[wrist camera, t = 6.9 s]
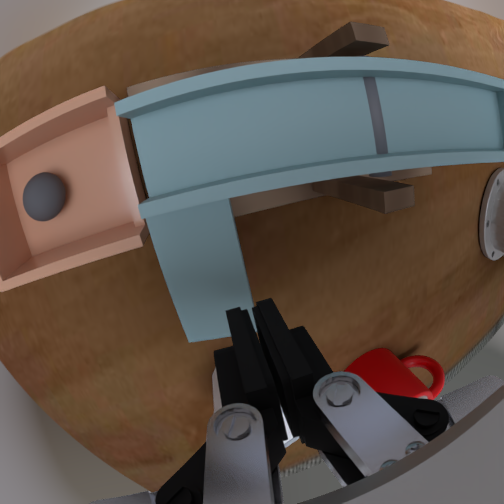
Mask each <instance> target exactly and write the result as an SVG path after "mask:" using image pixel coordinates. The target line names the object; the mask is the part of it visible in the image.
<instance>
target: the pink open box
mask: <svg viewBox="0 0 504 504" xmlns="http://www.w3.org/2000/svg"><path fill="white" fill-rule="evenodd" d="M117 101H120V99H119V98H118V97H117V96H116V95H115V94H114V93H112V92H111V91H110V90H109V89H108V88H107V87H106V86H102V87H99V88H97V89H94V90H92V91H89V92H87V93H84V94H82V95H79V96H77V97H75V98H72V99H70V100H68V101H66V102H63V103H61V104H59V105H57V106H55V107H53V108H51V109H49V110H47V111H45V112H43V113H41V114H39V115H37V116H35V117H34V118H32V119H30V120H28V121H26V122H25V123H23V124H21V125H19V126H18V127H16V128H14V129H13V130H11V131H9V132H8V133H6V134H5V135H3V136H1V137H0V291H1V292H3V291H6V290H9V289H12V288H15V287H17V286H20V285H23V284H26V283H29V282H32V281H35V280H38V279H41V278H44V277H47V276H50V275H53V274H56V273H59V272H62V271H65V270H68V269H71V268H74V267H77V266H80V265H83V264H86V263H90V262H93V261H96V260H99V259H102V258H106V257H109V256H112V255H115V254H119V253H122V252H125V251H129V250H132V249H135V248H139V247H142V246H143V245H144V243H145V241H146V238H147V236H148V234H149V229H148V225H147V222H146V219H145V218H144V219H141V216H140V212H139V209H138V204H140V203H142V202H143V201H145V200H146V196H145V192H144V188H143V185H142V181H141V177H140V173H139V169H138V165H137V160H136V156H135V152H134V147H133V143H132V138H131V133H130V129H129V124H128V119H127V118H124V117H119V116H116V111H115V105H114V103H115V102H117ZM42 172H49V173H53V174H55V175H56V176H58V177H59V178H60V179H61V181H62V182H63V184H64V187H65V191H66V199H65V203H64V206H63V208H62V210H61V211H60V213H59V214H58V215H57V216H56V217H55V218H53V219H51V220H49V221H37V220H34V219H32V218H31V217H30V216H29V215H28V214H27V212H26V211H25V209H24V206H23V191H24V188H25V186H26V184H27V183H28V181H29V180H30V179H31V178H32V177H33V176H35V175H37V174H39V173H42Z"/></svg>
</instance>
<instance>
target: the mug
mask: <svg viewBox="0 0 504 504" xmlns="http://www.w3.org/2000/svg"><path fill="white" fill-rule="evenodd" d="M411 367H422V368H425V369H427V370H428V371H429V372H430V373H431V374H432V376H433V383H432V386H431V387H430V388H429V389H428V388H427V387H426V386H425V385H424V384H423V383H422V382H421V381H420V380H419V379H418V378H417V377H416V376H415V375H414V374H413V373H412V372H411V371H410V370H409V369H408V368H411ZM344 372H350V373H353V374H356V375H357V376H359V377H360V378H362V379H363V380H364V381H365V382H366V383H367V384H368V385H369V386H370V387H371V388H372V389H373V390H374V391H375V392H380V393H387V394H393V395H400V396H407V397H415V398H423V399H431V400H433V399H435V398H436V397H437V396H438V394H439V393H440V392H441V390H442V389H443V386H444V382H445V375H444V371H443V369H442V367H441V365H440V364H439V363H438V362H437V361H435V360H434V359H432V358H430V357H427V356H421V355H415V356H409V357H405V358H403V359H401V360H399V359H398V358H397V357H396V356H395V355H394V354H393V353H392V352H391V351H390V350H388V349H386V348H378V349H374V350H371V351H369V352H367V353H365V354H363V355H362V356H360V357H359V358H357V359H356V360H355V361H354V362H353V363H351V364H350V365H349V366H348V367H347V369H346V370H345V371H344Z"/></svg>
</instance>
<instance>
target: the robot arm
mask: <svg viewBox="0 0 504 504" xmlns="http://www.w3.org/2000/svg"><path fill="white" fill-rule="evenodd" d="M479 238H480V245H481V249H482V252H483V254H484V255H485V257H487V258H489V259H491V260H498V259H499V258H500V257H502V256H503V255H504V168H499V169H497V170H496V171H495V172H494V173H493V175H492V176H491V178H490V180H489V182H488V184H487V187H486V190H485V193H484V197H483V201H482V206H481V213H480V223H479ZM256 304H257V306H256V307H252V312H253V316H254V320H255V324H256V328H257V332H258V336H259V340H258V337H257V334H256V332H255V329H254V326H253V324H252V321H251V318H250V315H249V313H248V310H247V309H245V310H241V308H240V307H237V308H233V309H229V310H225V311H226V316H227V320H228V324H229V329H230V333H231V337H232V342H233V346H231V347H227V348H223V349H219V350H215V351H214V359H215V366H216V372H217V379H218V385H219V392H220V398H221V404H222V408H220V409H219V410H217V411H216V412H215V413H214V414H213V415H212V416H211V418H210V419H209V422H208V426H207V440H206V442H205V443H204V444H203V446H202V447H201V448H200V449H199V450H198V451H197V452H196V453H195V454H194V455H193V456H192V457H191V458H190V459H189V460H188V461H187V462H186V463H185V464H184V465H183V466H182V467H181V468H180V469H179V470H178V471H177V472H176V473H175V474H174V475H173V476H172V477H171V478H170V479H169V480H168V481H167V482H166V483H165V484H164V485H163V486H162V487H161V488H160V489H159V491H157V492H153V493H150V492H149V491H145V492H141V493H136V494H132V495H127V496H121V497H116V498H110V499H103V500H96V501H93V502H91V503H90V504H284V500H283V492H282V485H281V477H280V470H279V465H278V464H279V462H280V461H281V460H282V458H283V457H284V455H285V454H286V450H285V446H284V442H283V441H285V440H288V436H287V432H286V427H285V423H284V419H283V415H282V411H283V413H284V416H285V418H286V421H287V424H288V426H289V429H290V431H291V434H292V436H293V438H295V437H298V436H299V437H300V440H301V442H302V444H303V443H305V444H306V446H307V447H311V448H314V449H317V450H318V452H319V454H320V456H321V457H322V459H323V460H324V461H325V463H326V464H327V466H328V467H329V468H330V470H331V471H332V473H333V474H334V475H335V477H336V478H337V479H338V481H339V482H340V483H341V485H342V486H343V488H341V489H338V490H336V491H333V492H330V493H328V494H325V495H322V496H319V497H317V498H313V499H310V500H307V501H304V502H301V503H298V504H504V382H503V381H502V379H501V378H498V377H496V376H490V375H489V376H486V377H483V378H481V379H479V380H477V381H475V382H473V383H471V384H468V385H466V386H464V387H462V388H459V389H457V390H455V391H453V392H450V393H448V394H445V395H443V396H441V398H440V400H437V401H434V400H431V399H423V398H415V397H407V396H400V395H393V394H387V393H380V392H375V391H374V390H373V389H372V388H371V387H370V386H369V385H368V384H367V383H366V382H365V381H364V380H363V379H362V378H360V377H359V376H357V375H356V374H353V373H350V372H334V373H333V371H332V369H331V368H330V366H329V365H328V363H327V362H326V360H325V359H324V357H323V355H322V354H321V352H320V351H319V349H318V348H317V346H316V344H315V343H314V341H313V340H312V338H311V337H310V335H309V334H308V332H307V330H306V329H305V328H304V326H300V327H297V328H294V329H290V330H289V329H288V327H287V325H286V323H285V322H284V320H283V318H282V316H281V314H280V313H279V311H278V309H277V307H276V305H275V304H274V302H273V300H272V298H269V299H266V300H262V301H259V302H256ZM259 341H260V343H259ZM280 405H281V406H280ZM281 408H282V411H281Z"/></svg>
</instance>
